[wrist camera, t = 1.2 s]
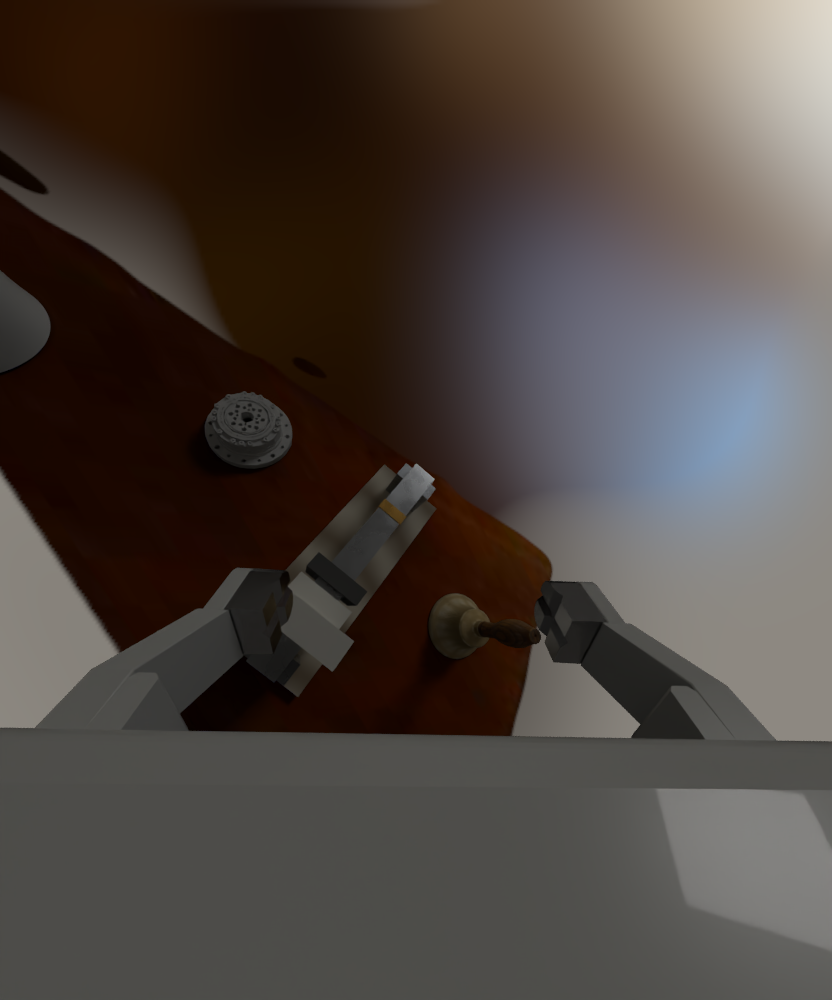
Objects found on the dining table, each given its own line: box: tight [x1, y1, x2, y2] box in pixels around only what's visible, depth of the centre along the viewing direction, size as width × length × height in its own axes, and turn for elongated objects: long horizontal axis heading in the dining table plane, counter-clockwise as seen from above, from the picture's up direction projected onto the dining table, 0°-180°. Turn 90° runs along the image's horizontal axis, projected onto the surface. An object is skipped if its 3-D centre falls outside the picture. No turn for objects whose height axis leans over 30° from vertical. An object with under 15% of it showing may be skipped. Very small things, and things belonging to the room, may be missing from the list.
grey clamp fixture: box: [243, 463, 436, 685], centre depth 35 cm, size 26×5×7 cm, turn 144°
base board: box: [244, 465, 436, 697], centre depth 38 cm, size 28×10×1 cm, turn 144°
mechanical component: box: [205, 391, 292, 469], centre depth 38 cm, size 10×4×10 cm
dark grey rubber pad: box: [305, 552, 368, 606], centre depth 31 cm, size 2×6×6 cm, turn 54°
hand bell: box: [428, 593, 541, 659], centre depth 34 cm, size 8×8×16 cm
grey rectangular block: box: [281, 571, 354, 672], centre depth 26 cm, size 4×6×15 cm, turn 54°
